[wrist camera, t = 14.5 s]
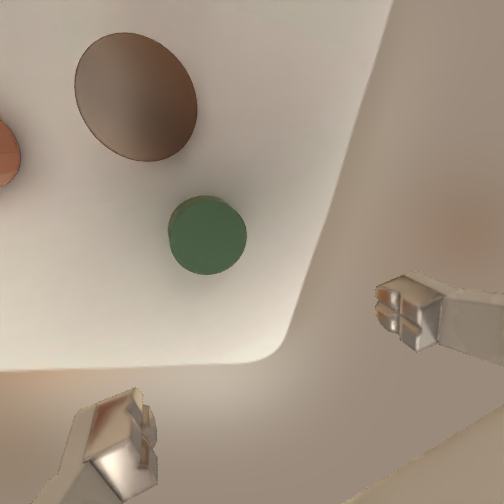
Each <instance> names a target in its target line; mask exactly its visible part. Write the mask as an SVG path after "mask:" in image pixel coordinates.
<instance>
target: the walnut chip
mask: <svg viewBox="0 0 504 504" xmlns="http://www.w3.org/2000/svg"><path fill="white" fill-rule="evenodd" d="M74 88H75V97H76V101H77V105H78V108H79V111H80V114H81V116H82V118H83V120H84V122H85V123H86V125H87V126H88V128H89V130H90V131H91V132H92V133H93V135H94V136H95V137H96V138H97V139H98V140H99V141H100V142H101V143H102V144H104V145H105V146H106V147H107V148H109V149H110V150H112V151H113V152H115V153H117V154H119V155H121V156H123V157H126V158H129V159H132V160H136V161H144V162H150V161H158V160H162V159H165V158H168V157H170V156H172V155H174V154H175V153H177V152H178V151H179V150H180V149H181V148H183V147H184V145H185V144H186V143H187V142H188V140H189V138H190V137H191V135H192V133H193V130H194V127H195V124H196V119H197V99H196V94H195V90H194V87H193V84H192V81H191V79H190V77H189V75H188V73H187V71H186V70H185V68H184V67H183V65H182V64H181V63H180V61H179V60H178V59H177V58H176V57H175V56H174V54H172V53H171V52H170V51H169V50H168V49H167V48H165V47H164V46H163V45H161V44H160V43H158V42H156V41H154V40H153V39H150V38H148V37H145V36H143V35H139V34H134V33H115V34H110V35H107V36H105V37H102V38H100V39H99V40H97V41H95V42H94V43H93V44H92V45H91V46H89V47H88V49H87V50H86V51H85V52H84V54H83V55H82V57H81V59H80V61H79V63H78V66H77V69H76V74H75V85H74Z"/></svg>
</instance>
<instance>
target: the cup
mask: <svg viewBox="0 0 504 504" xmlns="http://www.w3.org/2000/svg"><path fill="white" fill-rule="evenodd" d="M19 166H20V150H19V147H18V144H17V141H16V139H15V137H14V135H13V134H12V132H11V131H10V129H9V128H8V127H7V126H6V125H5V124H4V123H3V121H2V120H0V187H2V186H4V185H6V184H7V183H9V182H10V181H11V180H12V179H13V178H14V176H15V175H16V173H17V171H18V169H19Z"/></svg>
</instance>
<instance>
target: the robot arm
mask: <svg viewBox="0 0 504 504" xmlns="http://www.w3.org/2000/svg"><path fill="white" fill-rule="evenodd" d="M375 297H376V298H377V299H378V302H377V304H376V306H375V313H376V316H377V318H378V321H379V322H380V324H381V325H382V326H383V327H384V328H385V329H387V330H388V331H389V332H392V333H396V334H398V335H399V339H400V340H401V341H402V342H403V343H405V344H406V345H408V346H409V347H410V348H412V349H413V350H414V351H415V352H417V353H418V352H420V351H422V350H424V349H426V348H429V347H431V346H433V345H435V344H437V343H439V345H442V346H445V347H448V348H451V349H454V350H456V351H459V352H462V353H465V354H468V355H471V356H474V357H477V358H480V359H483V360H486V361H489V362H492V363H494V364H497V365H500V366H503V367H504V293H496V292H487V291H479V290H472V289H464V288H463V289H460V290H459V289H456V288H454V287H452V286H450V285H447V284H445V283H443V282H441V281H438V280H436V279H434V278H432V277H429V276H427V275H425V274H423V273H421V272H418V271H410V272H408V273H406V274H404V275H401V276H400V277H397V278H395V279H392V280H390V281H388V282H385V283H383V284H381V285H379V286H377V287H376V289H375ZM156 442H157V429H156V423H155V419H154V416H153V413H152V411H151V409H150V407H149V406H147V405H144V404H143V394H142V393H141V391H140V389H139V388H137V387H135V388H132V389H130V390H127V391H125V392H122V393H120V394H117V395H115V396H112V397H110V398H107V399H105V400H102V401H99V402H98V403H95V404H93V405H90V406H88V407H85V408H83V409H80V410H79V411H78V412H77V413H76V414H75V416H74V419H73V423H72V426H71V429H70V433H69V436H68V439H67V443H66V446H65V449H64V453H63V456H62V459H61V463H60V466H59V469H58V473H57V476H55V477H53V478H51V479H49V481H48V482H47V483H46V485H45V486H44V487H43V488H42V490H41V491H40V492H39V494H38V495H37V496H36V498H35V499H34V500H33V501H32V503H31V504H123V503H124V502H126V501H128V500H130V499H131V498H133V497H135V496H137V495H139V494H141V493H143V492H144V491H146V490H148V489H150V488H152V487H154V486H156V485H157V484H158V474H157V473H158V469H157V468H158V467H157V465H158V464H157V456H156V454H155V452H154V451H153V448H154V446H155V444H156ZM342 504H504V404H503V405H501V406H499V407H498V408H496V409H495V410H493V411H491V412H490V413H488V414H486V415H485V416H483V417H482V418H480V419H478V420H477V421H475V422H473V423H472V424H470V425H469V426H467V427H465V428H464V429H462V430H460V431H459V432H457V433H456V434H454V435H452V436H451V437H449V438H448V439H446V440H444V441H443V442H441V443H439V444H438V445H436V446H435V447H433V448H431V449H430V450H428V451H427V452H425V453H423V454H422V455H420V456H418V457H417V458H415V459H414V460H412V461H410V462H409V463H407V464H405V465H404V466H402V467H400V468H399V469H397V470H396V471H394V472H392V473H391V474H389V475H388V476H386V477H384V478H383V479H381V480H380V481H378V482H376V483H375V484H373V485H371V486H370V487H368V488H366V489H365V490H364V491H362V492H360V493H358V494H357V495H355V496H353V497H352V498H350V499H349V500H347V501H345V502H344V503H342Z"/></svg>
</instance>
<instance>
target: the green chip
mask: <svg viewBox="0 0 504 504" xmlns="http://www.w3.org/2000/svg"><path fill="white" fill-rule="evenodd" d="M168 235H169V242H170V247H171V251H172V253H173V255H174V257H175V259H176V260H177V261H178V263H179V264H180V265H181V266H183V267H184V268H185V269H187V270H189V271H191V272H193V273H197V274H203V275H211V274H216V273H220V272H222V271H224V270H226V269H228V268H229V267H231V266H232V265H233V264H234V263H236V261H237V260H238V259H239V258H240V256H241V255H242V253H243V251H244V248H245V245H246V239H247V233H246V227H245V224H244V222H243V220H242V218H241V216H240V215H239V214H238V213H237V212H236V211H235V210H234V209H233V208H232V207H230V206H229V205H228V204H227V203H225V202H224V201H222V200H220V199H218V198H215V197H212V196H197V197H193V198H190V199H188V200H186V201H185V202H183V203H182V204H181V205H179V206H178V207H177V209H176V210H175V211H174V213H173V214H172V216H171V218H170V222H169V226H168Z"/></svg>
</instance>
